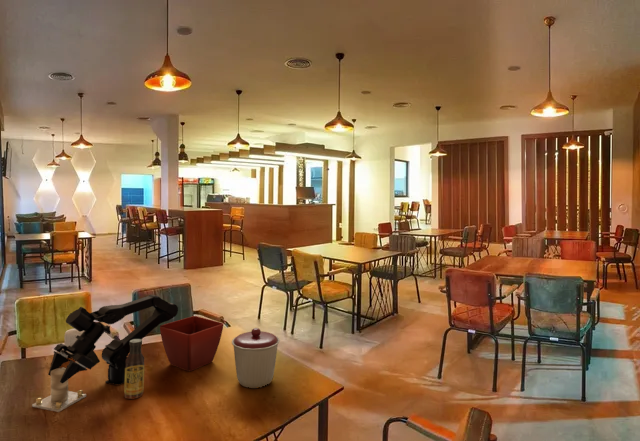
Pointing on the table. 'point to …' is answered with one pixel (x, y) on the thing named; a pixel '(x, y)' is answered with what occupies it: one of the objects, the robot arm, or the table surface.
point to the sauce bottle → (134, 371)
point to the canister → (255, 357)
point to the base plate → (64, 404)
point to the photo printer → (71, 336)
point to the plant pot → (191, 341)
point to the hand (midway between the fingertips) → (55, 378)
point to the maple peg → (58, 386)
